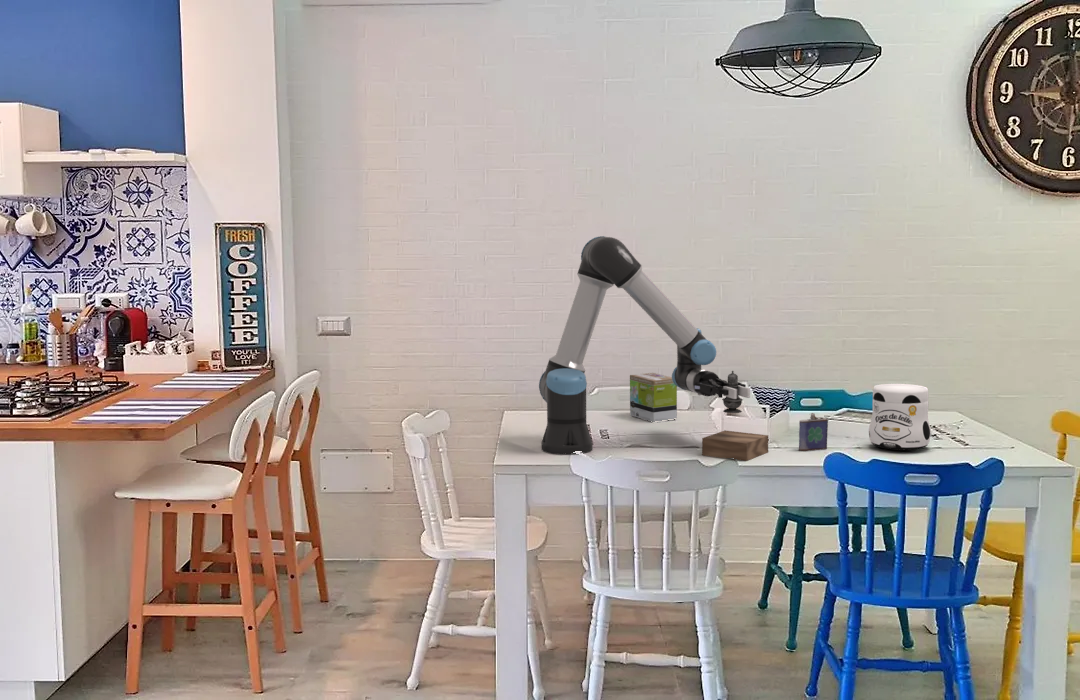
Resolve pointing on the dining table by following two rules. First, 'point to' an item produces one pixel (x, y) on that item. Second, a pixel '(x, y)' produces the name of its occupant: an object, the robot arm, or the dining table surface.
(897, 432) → the milk container
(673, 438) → the dining table surface
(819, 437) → the flask
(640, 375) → the tea box
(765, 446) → the base block
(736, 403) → the salt shaker
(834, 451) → the dining table surface
